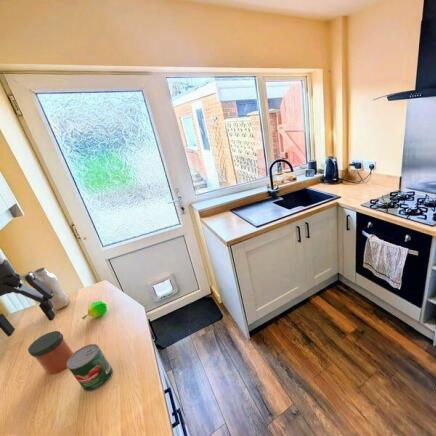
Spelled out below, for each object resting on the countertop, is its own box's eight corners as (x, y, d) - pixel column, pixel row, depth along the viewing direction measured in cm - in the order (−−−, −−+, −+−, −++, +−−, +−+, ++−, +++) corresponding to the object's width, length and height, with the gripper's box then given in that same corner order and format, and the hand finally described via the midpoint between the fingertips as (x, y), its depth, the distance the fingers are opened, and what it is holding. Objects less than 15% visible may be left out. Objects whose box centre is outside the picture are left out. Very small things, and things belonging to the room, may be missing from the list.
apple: (101, 295, 104) (76, 309, 97) (110, 307, 103) (85, 322, 96) (102, 301, 109) (78, 315, 102) (110, 312, 108) (86, 327, 101)
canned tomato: (86, 397, 73) (68, 374, 68) (80, 381, 78) (63, 358, 73) (116, 376, 78) (101, 352, 73) (109, 362, 83) (95, 339, 78)
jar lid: (24, 360, 76) (20, 356, 75) (41, 338, 83) (38, 334, 82) (54, 352, 77) (51, 348, 77) (68, 331, 85) (66, 328, 84)
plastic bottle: (49, 310, 110) (24, 274, 101) (65, 299, 116) (42, 265, 107) (60, 312, 108) (35, 275, 100) (75, 301, 114) (53, 265, 106)
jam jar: (41, 377, 80) (23, 356, 76) (55, 357, 87) (39, 336, 82) (67, 370, 82) (51, 349, 77) (79, 350, 88) (65, 330, 84)
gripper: (43, 246, 75) (78, 302, 84) (-61, 274, 66) (-9, 333, 75) (34, 258, 68) (72, 316, 78) (-83, 290, 60) (-23, 352, 69)
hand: (32, 325), depth 76 cm, fingers open, 9 cm apart
